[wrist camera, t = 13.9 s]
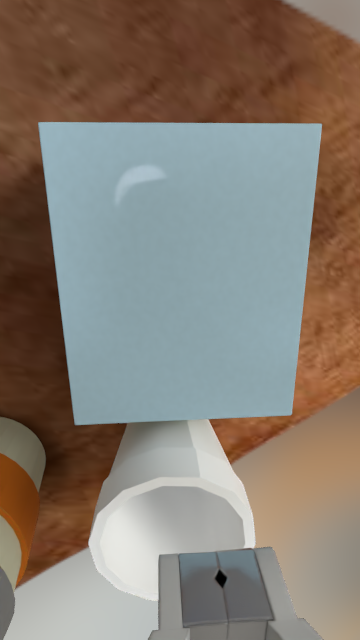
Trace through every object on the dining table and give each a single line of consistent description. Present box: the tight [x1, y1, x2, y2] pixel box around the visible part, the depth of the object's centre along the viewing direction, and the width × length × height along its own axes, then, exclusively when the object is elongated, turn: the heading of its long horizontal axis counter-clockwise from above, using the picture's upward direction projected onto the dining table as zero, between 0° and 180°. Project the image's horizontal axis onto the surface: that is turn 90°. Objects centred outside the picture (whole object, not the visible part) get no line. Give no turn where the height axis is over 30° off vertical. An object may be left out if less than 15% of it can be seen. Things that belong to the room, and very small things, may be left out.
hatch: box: [38, 122, 322, 425], centre depth 19 cm, size 17×14×1 cm
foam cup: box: [88, 419, 256, 600], centre depth 25 cm, size 10×9×13 cm
